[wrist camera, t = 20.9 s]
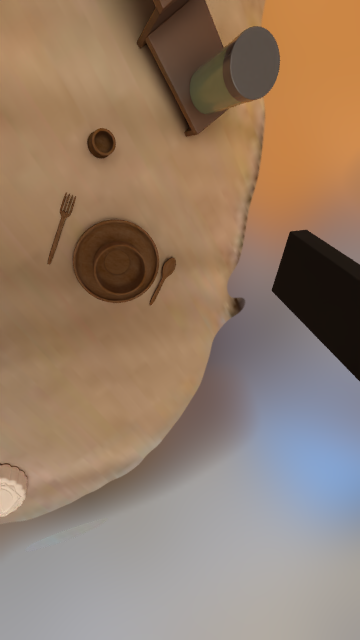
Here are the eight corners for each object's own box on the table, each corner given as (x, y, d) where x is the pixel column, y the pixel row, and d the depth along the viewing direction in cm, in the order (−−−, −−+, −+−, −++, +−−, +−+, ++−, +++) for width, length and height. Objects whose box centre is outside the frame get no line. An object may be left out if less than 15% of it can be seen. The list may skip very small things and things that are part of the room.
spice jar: (181, 80, 31) (220, 50, 23) (215, 51, 31) (267, 11, 23) (202, 124, 34) (245, 111, 25) (234, 98, 34) (287, 76, 25)
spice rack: (81, -62, 27) (84, -177, 18) (136, -112, 27) (170, -255, 18) (186, 137, 37) (223, 128, 28) (227, 102, 37) (278, 83, 28)
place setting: (39, 276, 40) (34, 292, 35) (87, 123, 34) (89, 116, 29) (152, 311, 48) (161, 329, 43) (207, 193, 42) (225, 197, 37)
